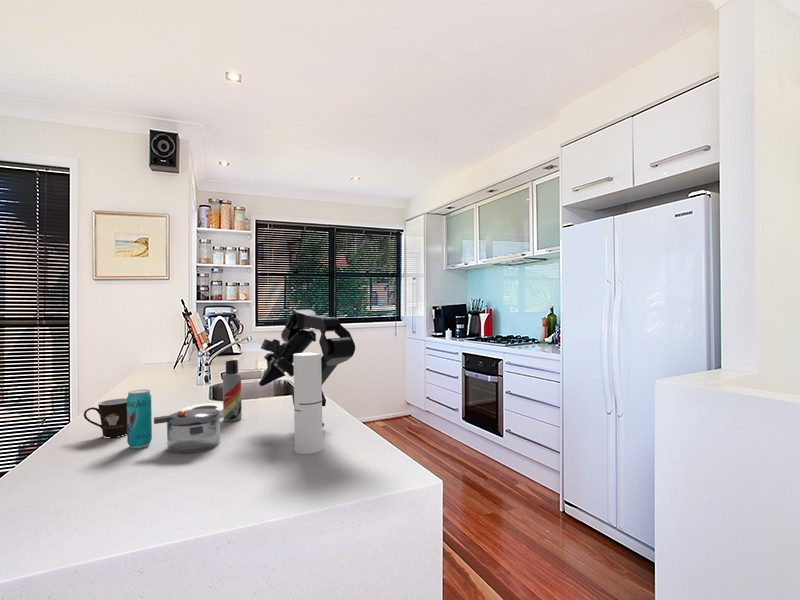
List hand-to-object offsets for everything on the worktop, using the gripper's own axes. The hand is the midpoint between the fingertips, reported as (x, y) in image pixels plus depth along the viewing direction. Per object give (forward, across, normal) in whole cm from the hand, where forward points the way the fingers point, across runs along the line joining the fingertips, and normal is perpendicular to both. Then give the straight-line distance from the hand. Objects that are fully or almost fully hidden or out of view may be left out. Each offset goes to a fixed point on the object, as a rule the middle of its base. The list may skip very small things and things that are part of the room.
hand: (260, 385), depth 133 cm
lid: (+19, +5, -10) cm, 22 cm away
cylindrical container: (+5, +25, +15) cm, 30 cm away
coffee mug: (+38, -19, -18) cm, 46 cm away
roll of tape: (+19, -30, +1) cm, 35 cm away
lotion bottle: (+14, -18, +6) cm, 23 cm away
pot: (+23, +5, -4) cm, 24 cm away
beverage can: (+32, -2, -13) cm, 35 cm away
